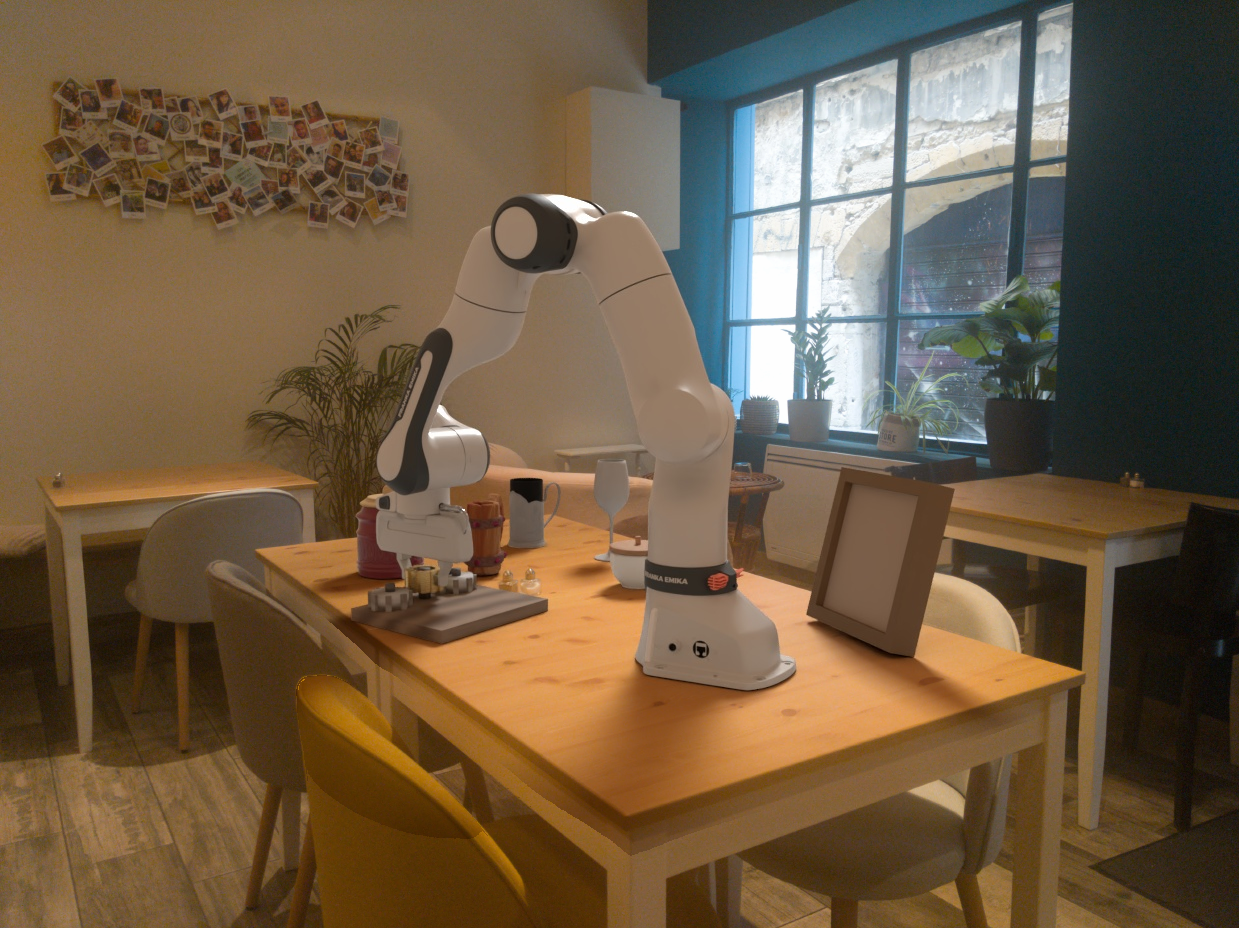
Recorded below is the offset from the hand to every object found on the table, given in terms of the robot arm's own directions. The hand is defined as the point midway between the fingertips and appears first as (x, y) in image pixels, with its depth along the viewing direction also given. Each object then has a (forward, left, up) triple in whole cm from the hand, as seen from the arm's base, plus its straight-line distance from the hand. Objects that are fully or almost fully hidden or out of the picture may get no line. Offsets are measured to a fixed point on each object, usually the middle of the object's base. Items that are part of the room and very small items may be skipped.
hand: (424, 582), depth 159 cm
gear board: (-6, 0, -5) cm, 8 cm away
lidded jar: (-18, -36, -5) cm, 41 cm away
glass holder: (+25, -56, -5) cm, 61 cm away
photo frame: (-67, -33, -5) cm, 75 cm away
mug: (+13, -28, -5) cm, 31 cm away
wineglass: (+1, -53, -5) cm, 53 cm away
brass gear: (0, 0, -1) cm, 1 cm away
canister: (+27, -15, -5) cm, 31 cm away
